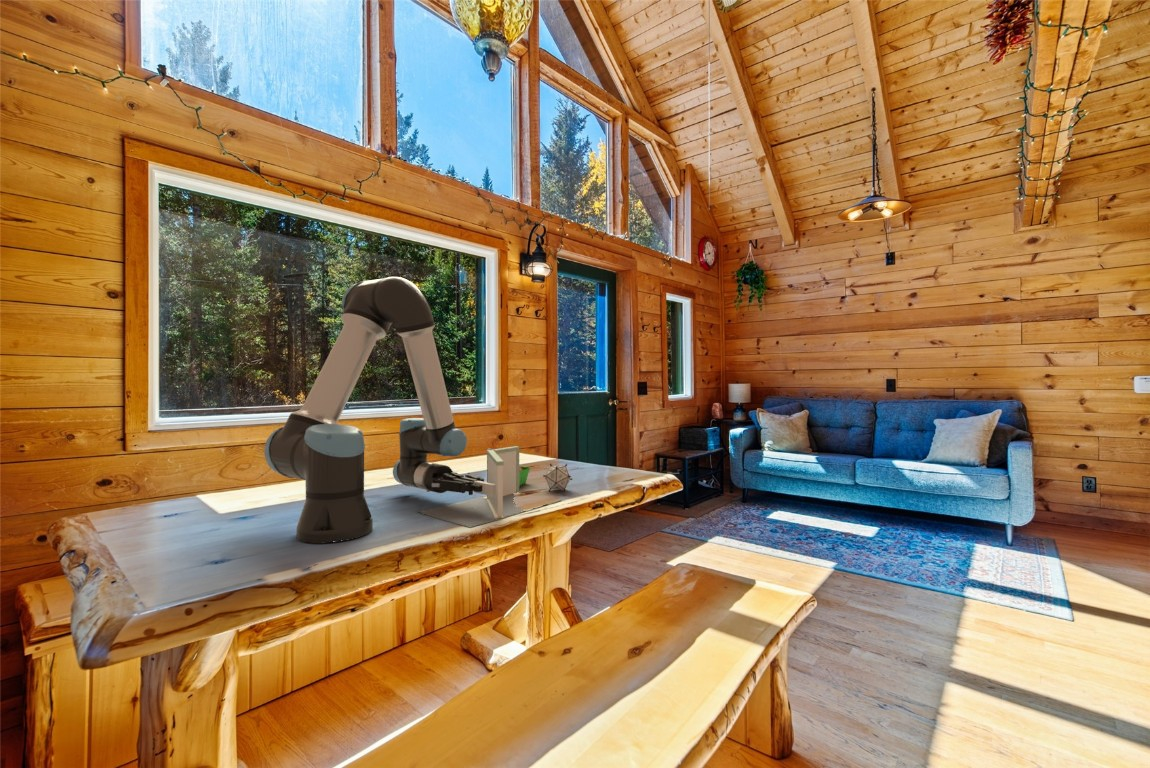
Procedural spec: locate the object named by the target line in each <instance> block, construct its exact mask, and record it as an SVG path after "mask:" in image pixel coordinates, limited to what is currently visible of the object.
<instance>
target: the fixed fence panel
mask: <svg viewBox="0 0 1150 768" xmlns="http://www.w3.org/2000/svg"><path fill="white" fill-rule="evenodd" d="M493 450H494V452H495V453H496V454H497V455H498V456H499V457H500V458H501V459H502V460H503V461H504V465H503V495H505V494H509V493H513V492H520V486H519V466H520V446H517V445H514V446H508V447H500V448H496V449H495V448H494V449H493Z"/></svg>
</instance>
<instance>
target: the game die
mask: <svg viewBox="0 0 1150 768" xmlns="http://www.w3.org/2000/svg"><path fill="white" fill-rule="evenodd" d="M549 466H550V467H549V469H548V471H547V472H546V474H543V475H542V477H543V478H544V479H545V480H546V483H547V485H548V488H549V489H548V490H549V492H551V490H559V491H560V490H563V491H564V492H565V491H566V492H567V489H566V488H567V486H568V484H569V482H570V481H572V480H573V478H572V476H571V475H570V474H569V472H568V469H567V468H568V467H567V466H568V463H566V464H565V465H552V463H549Z"/></svg>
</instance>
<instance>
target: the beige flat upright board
mask: <svg viewBox="0 0 1150 768" xmlns="http://www.w3.org/2000/svg"><path fill="white" fill-rule="evenodd" d="M503 465H504V461H503V460H502V459H501V458H500V457H499V456H498V455H497V454H496V453H495V452H494V449H493V448H490V447H489V448H487V449H486V482H488V483H493V484H496V495H493V496H489V495H486V496H487V498H488V499H489V500H490V502H491V504H492V506H493V508H494V510H495V512H496V514H497V515H498V516H503Z"/></svg>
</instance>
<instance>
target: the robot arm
mask: <svg viewBox="0 0 1150 768" xmlns="http://www.w3.org/2000/svg"><path fill="white" fill-rule="evenodd" d="M341 307H342V314H341V316H340V320H341V321H342V324H343V326H342V329H341V330H340V333H339V334H338V336H337V338H336V340H335V342H334V344H333V346H332V348H331V349H330V352H329V354H328V355H327V358H326V359H325V361H324V364H323V366H322V367H321V370H320V372H319V373H318V375H317V377H316V379H315V382H314V383H313V385H312V387H311V389H310V391H309V393H308V394H307V397H306V399H305V401H304V403H303V405H302V406H301V408H300V409H299V410H296V411H294V412H293V411H292V412H291V413H290V414H289V416H288V418H287V420H286V421H285V423H284V425H283V426H281V427H279V428H277V429H275V430H273V432H272V433H271V434H269V436H268V438H267V439H266V441H265V443H264V450H263V451H264V452H263V453H264V458H265V462H266V464H267V466H268V467H269V468H270V469H271V470H272V471H274V473H277V474H279V475H281V476H283V477H286V478H289V479H297V480H303V481H305V502H304V505H303V508H302V510H301V513H300V516H299V520H298V522H297V526H296V539H297V540H298V541H300V540H301V541H300V542H302V541H304V542H303V543H307V542H311V543H310V544H323V543H322V542H333V541H341V540H346V541H348V540H347V539H351V540H353V539H352V538H355V539H357V538H356V537H358V538H360V537H359V536H361V537H364V536H366V535H368V534H369V533H371V532H372V530H373V529H374V527H373V525H374V524H373V523H374V522H373V517H372V514H371V511H370V508H369V505H368V503H367V499H366V497H365V449H366V445H365V437H364V433H363V431H362V430H361V429H360V428H358V427H356V426H354V425H347V424H339V423H338V422H339V419H340V417H341V416H342V413H343V411H344V410H345V407H346V404H347V403H348V401H349V399H350V397H351V395H352V393H353V391H354V389H355V387H356V384H357V383H358V380H359V378H360V376H361V374H362V372H363V369H364V367H365V365H366V364H367V361H368V359H369V357H370V355H371V353H372V350H373V348H374V346H375V344H376V343H377V341H379V340H382V339H384V338H386V336H387V333H388V332H389V330H390V327H391V325H392V324H393V325H394V327H395V332H396V335H398V336H400V337H401V338H402V342H403V345H404V346H403V347H404V350H405V353H406V356H407V361H408V365H409V367H410V372H411V376H412V380H413V383H414V387H415V391H416V395H417V398H418V403H419V406H420V411H421V414H422V417H409V418H403V419H401V420H400V422H399V432H398V437H399V459H398V460H397V461H396V463H395V464H394V466H393V468H392V476H393V478H394V480H395V481H396V482H397V483H399V484H402V485H404V486H405V487H412V488H418V489H422V490H426V492H427V493H429V492H433V493H438V494H444V493H446V492H453V493H460V494H461V493H462V494H465V493H467V492H468V496H473V495H474V493H476V494H481V495H484V496H487V495H489V496H493V495H496V484H493V483H488V482H487V481H485V479H484V477H483V478H482V477H480V476H477V475H473V474H472V472H467V473H466V474H465V475H464V474H461V473H458V472H454V471H453V470H452V468H451V467H450V466H449V465H446V464H445V465H444V464H440V463H434V462H429V461H428V455H436V456H441V457H442V456H443V457H458V456H460V455H461V454H462V453H464V451H465V450H466V448H467V444H468V438H467V435H466V433H465V432H464V431H463V430H462V429H459V428H458V427H456V425H455V421H454V417H453V412H452V407H451V404H450V399H449V396H448V392H447V388H446V387H447V386H446V383H445V379H444V375H443V371H442V366H441V362H440V358H439V355H438V350H437V347H436V343H435V342H436V341H435V337H434V334H433V330H434V328H435V326H436V325H435V320H434V317H433V313H432V310H431V308H430V306H429V303H428V301H427V299H426V298H425V296H424V294H423V292H422V291H421V290H420V289H419V288H418V287H417V285H416V284H414V283H413V282H412V281H409V280H408V279H406V278H403V277H399V276H389V277H384V278H379V279H371V280H370V279H367V280H361V281H359V282H357V283H354V284H352V285H351V286H349V287H348V288H347V289H346V290H345V292H344V294H343V296H342V299H341ZM370 531H371V532H370ZM367 533H368V534H367ZM365 534H366V535H365ZM363 535H364V536H363ZM341 542H342V541H341ZM333 543H334V542H333Z"/></svg>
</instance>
